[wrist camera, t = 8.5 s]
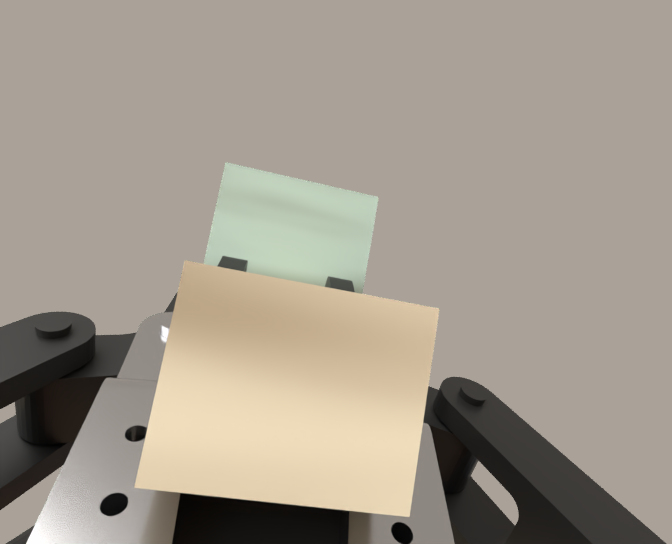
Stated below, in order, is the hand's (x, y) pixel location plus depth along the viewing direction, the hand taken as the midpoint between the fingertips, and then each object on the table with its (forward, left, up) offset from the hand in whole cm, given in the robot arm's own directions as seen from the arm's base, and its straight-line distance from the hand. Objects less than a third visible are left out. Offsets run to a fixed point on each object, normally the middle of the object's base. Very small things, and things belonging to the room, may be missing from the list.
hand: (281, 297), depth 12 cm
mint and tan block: (-1, -1, -2) cm, 3 cm away
